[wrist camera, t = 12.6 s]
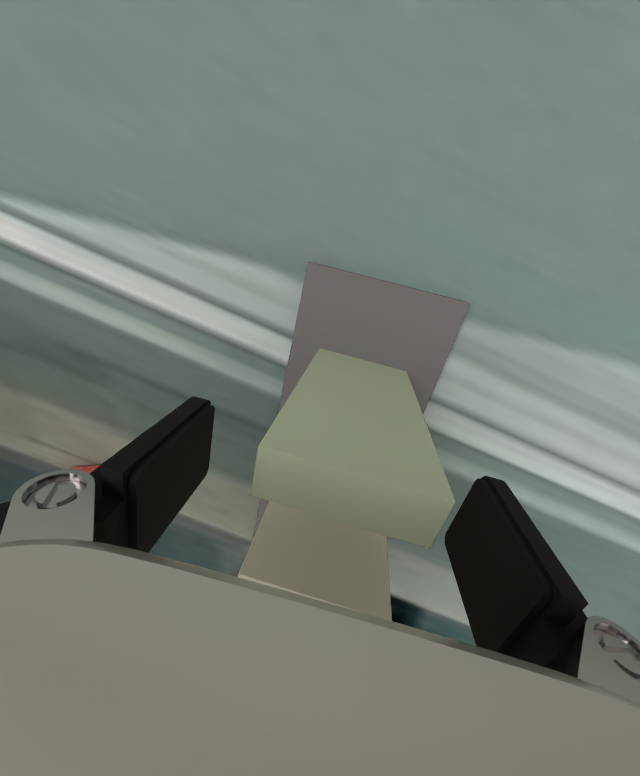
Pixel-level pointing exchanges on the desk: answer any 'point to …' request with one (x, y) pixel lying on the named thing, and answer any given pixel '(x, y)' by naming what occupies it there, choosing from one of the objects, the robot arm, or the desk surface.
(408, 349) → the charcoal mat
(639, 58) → the desk surface
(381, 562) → the cream domino
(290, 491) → the sage domino
